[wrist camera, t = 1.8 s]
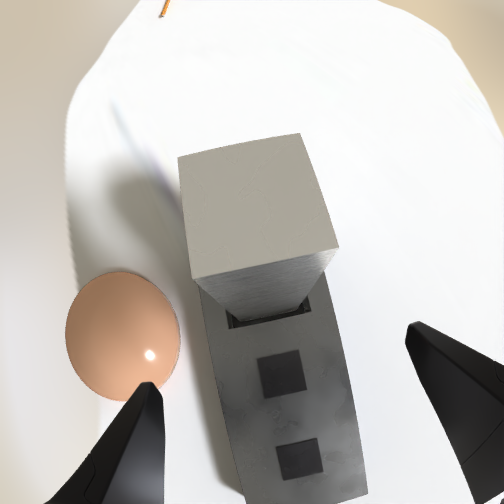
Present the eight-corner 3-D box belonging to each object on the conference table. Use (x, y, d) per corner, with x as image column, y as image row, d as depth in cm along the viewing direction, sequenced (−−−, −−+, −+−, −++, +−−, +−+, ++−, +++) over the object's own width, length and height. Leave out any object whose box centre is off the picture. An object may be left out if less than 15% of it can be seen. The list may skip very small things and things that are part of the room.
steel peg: (295, 310, 21) (339, 247, 8) (241, 322, 21) (192, 278, 8) (283, 257, 22) (299, 132, 9) (230, 269, 22) (177, 157, 9)
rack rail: (357, 478, 17) (368, 494, 14) (253, 501, 17) (251, 520, 14) (302, 226, 23) (306, 209, 20) (200, 248, 23) (190, 233, 20)
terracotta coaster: (128, 424, 19) (123, 426, 18) (55, 336, 21) (48, 335, 20) (207, 333, 21) (204, 332, 20) (120, 250, 23) (115, 247, 22)
